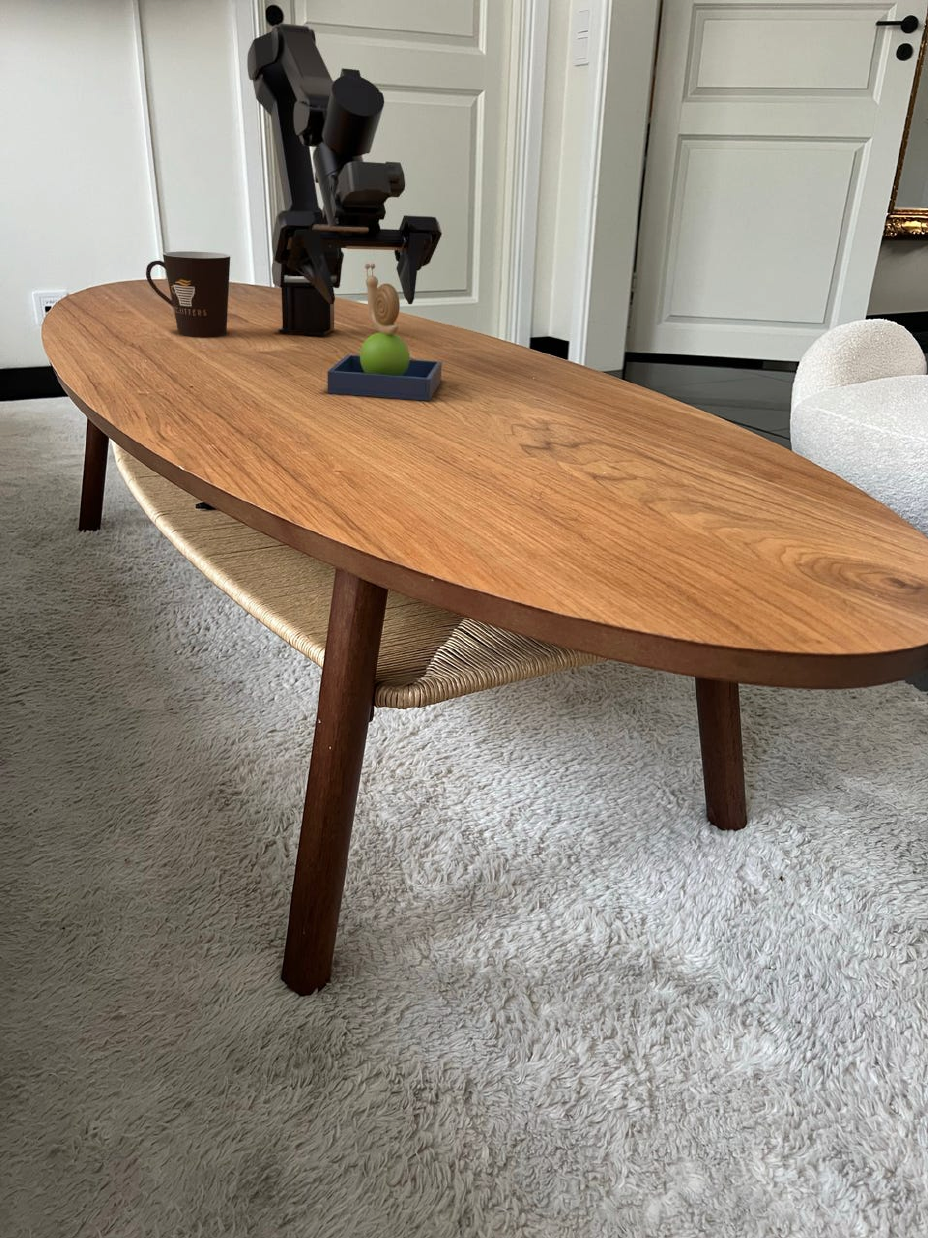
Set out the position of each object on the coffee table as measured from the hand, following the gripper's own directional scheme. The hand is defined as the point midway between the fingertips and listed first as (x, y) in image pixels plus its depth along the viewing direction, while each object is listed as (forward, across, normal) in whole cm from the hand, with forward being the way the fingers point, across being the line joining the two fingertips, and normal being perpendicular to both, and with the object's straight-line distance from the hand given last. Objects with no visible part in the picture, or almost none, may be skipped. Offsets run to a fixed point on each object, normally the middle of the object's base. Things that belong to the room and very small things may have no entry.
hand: (372, 301), depth 101 cm
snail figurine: (+9, 0, +2) cm, 9 cm away
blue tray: (+10, 0, +2) cm, 10 cm away
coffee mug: (-16, -15, +29) cm, 36 cm away
